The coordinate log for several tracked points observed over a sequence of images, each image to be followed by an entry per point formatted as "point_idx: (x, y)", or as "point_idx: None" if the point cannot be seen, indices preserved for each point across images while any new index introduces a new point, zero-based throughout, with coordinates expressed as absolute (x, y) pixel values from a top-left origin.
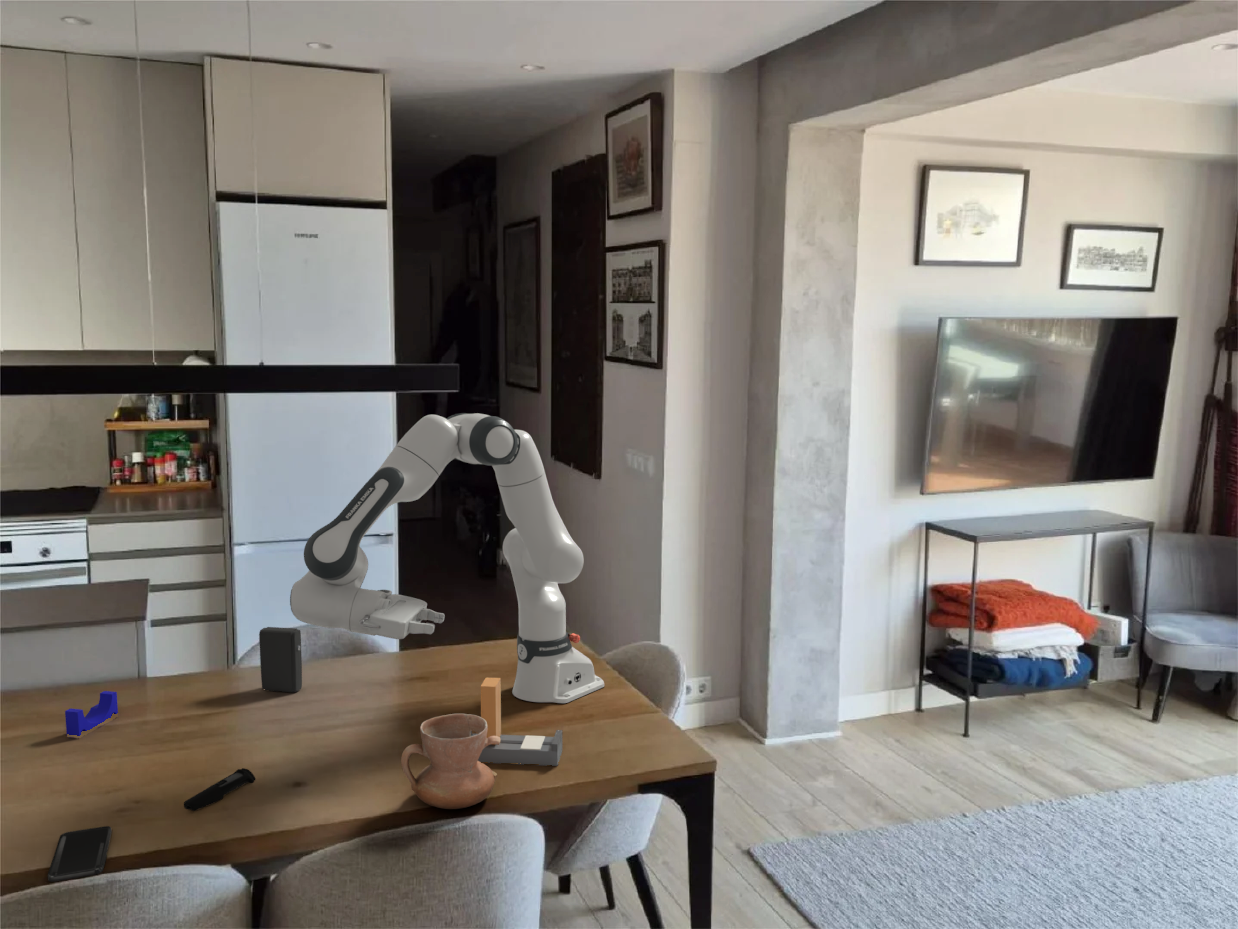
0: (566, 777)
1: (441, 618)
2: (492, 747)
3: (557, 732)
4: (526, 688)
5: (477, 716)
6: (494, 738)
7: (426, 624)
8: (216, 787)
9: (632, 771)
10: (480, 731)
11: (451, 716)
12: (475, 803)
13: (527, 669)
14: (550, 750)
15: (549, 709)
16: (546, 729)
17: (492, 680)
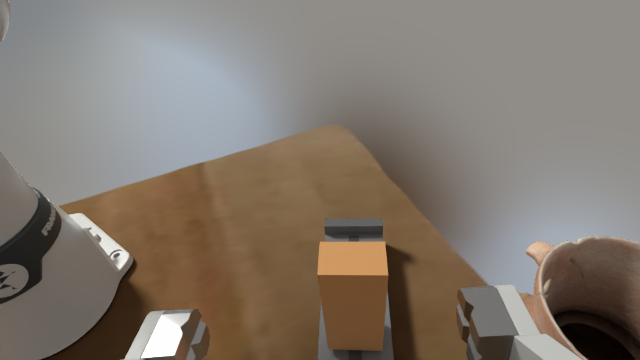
0: (415, 227)
1: (196, 326)
2: (384, 328)
3: (334, 223)
4: (74, 313)
5: (543, 265)
6: (553, 247)
7: (532, 321)
8: None
9: (379, 169)
10: (548, 274)
11: (564, 335)
12: (595, 329)
13: (47, 290)
14: (379, 235)
15: (149, 281)
16: (238, 274)
17: (339, 255)
